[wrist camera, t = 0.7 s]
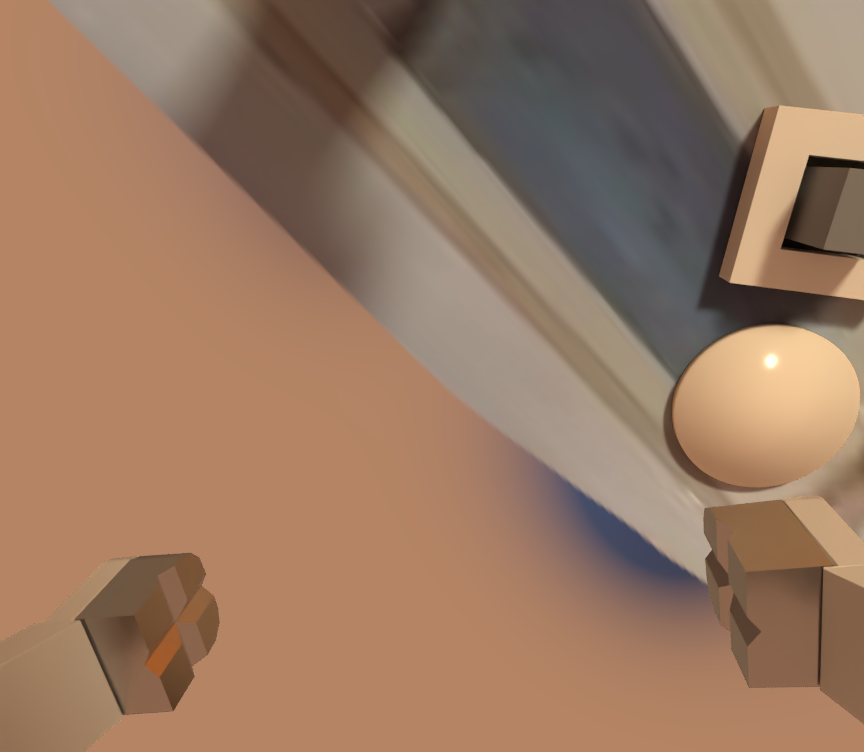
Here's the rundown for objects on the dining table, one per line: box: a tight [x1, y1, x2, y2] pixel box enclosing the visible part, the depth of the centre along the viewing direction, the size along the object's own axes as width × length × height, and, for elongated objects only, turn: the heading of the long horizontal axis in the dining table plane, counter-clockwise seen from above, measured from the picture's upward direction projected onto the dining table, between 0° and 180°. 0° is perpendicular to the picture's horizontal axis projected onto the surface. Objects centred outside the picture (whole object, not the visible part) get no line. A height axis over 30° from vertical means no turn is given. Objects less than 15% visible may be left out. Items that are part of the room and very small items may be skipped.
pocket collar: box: [719, 106, 864, 300], centre depth 44 cm, size 12×12×2 cm
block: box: [784, 166, 864, 254], centre depth 42 cm, size 5×5×7 cm
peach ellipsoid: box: [671, 324, 860, 487], centre depth 50 cm, size 14×14×1 cm
